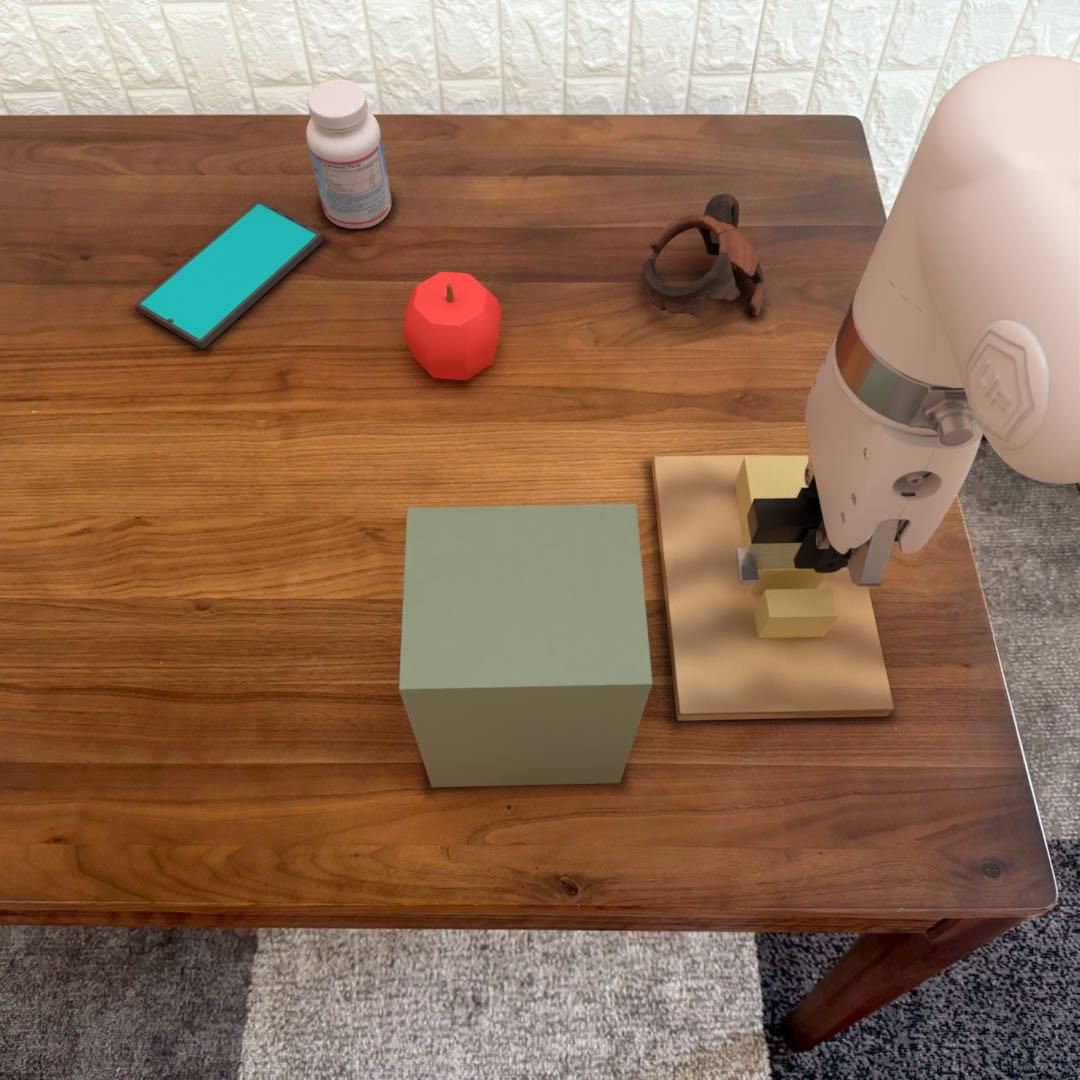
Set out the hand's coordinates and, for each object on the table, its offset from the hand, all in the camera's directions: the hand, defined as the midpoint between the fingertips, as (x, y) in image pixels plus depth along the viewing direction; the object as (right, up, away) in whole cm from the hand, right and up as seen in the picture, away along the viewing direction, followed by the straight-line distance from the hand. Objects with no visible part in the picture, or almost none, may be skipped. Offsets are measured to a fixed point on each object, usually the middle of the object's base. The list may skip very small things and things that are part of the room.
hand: (815, 543), depth 59 cm
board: (-1, -3, +9) cm, 10 cm away
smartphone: (-43, +23, +23) cm, 54 cm away
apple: (-24, +15, +19) cm, 34 cm away
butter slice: (0, -6, +6) cm, 8 cm away
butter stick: (0, 0, +10) cm, 10 cm away
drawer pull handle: (0, -2, +3) cm, 3 cm away
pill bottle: (-33, +30, +27) cm, 52 cm away
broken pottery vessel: (-3, +21, +23) cm, 32 cm away
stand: (-18, -11, +5) cm, 22 cm away
